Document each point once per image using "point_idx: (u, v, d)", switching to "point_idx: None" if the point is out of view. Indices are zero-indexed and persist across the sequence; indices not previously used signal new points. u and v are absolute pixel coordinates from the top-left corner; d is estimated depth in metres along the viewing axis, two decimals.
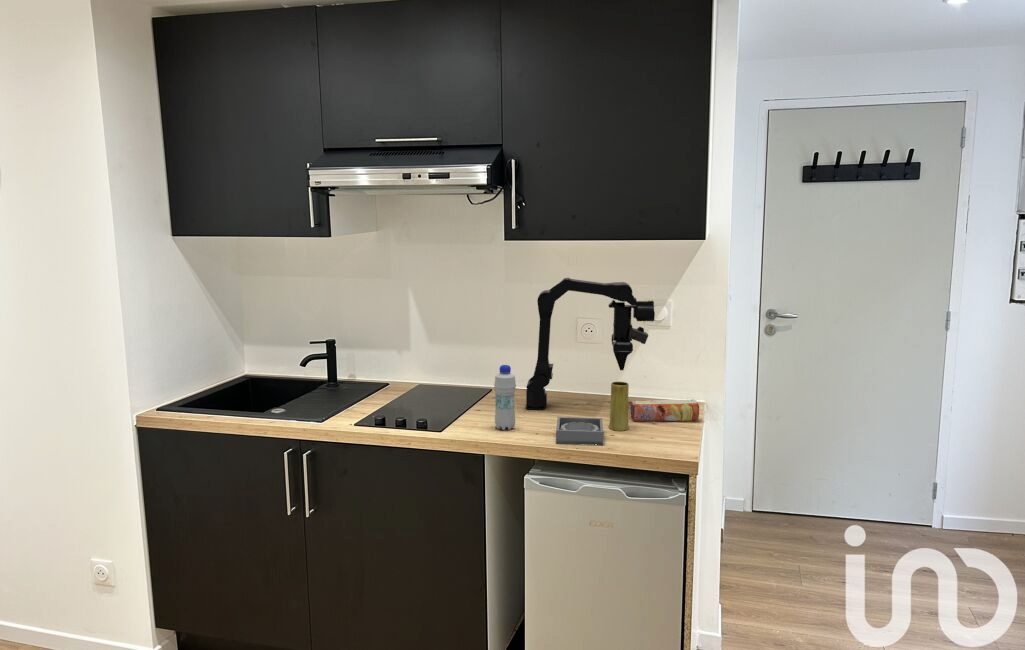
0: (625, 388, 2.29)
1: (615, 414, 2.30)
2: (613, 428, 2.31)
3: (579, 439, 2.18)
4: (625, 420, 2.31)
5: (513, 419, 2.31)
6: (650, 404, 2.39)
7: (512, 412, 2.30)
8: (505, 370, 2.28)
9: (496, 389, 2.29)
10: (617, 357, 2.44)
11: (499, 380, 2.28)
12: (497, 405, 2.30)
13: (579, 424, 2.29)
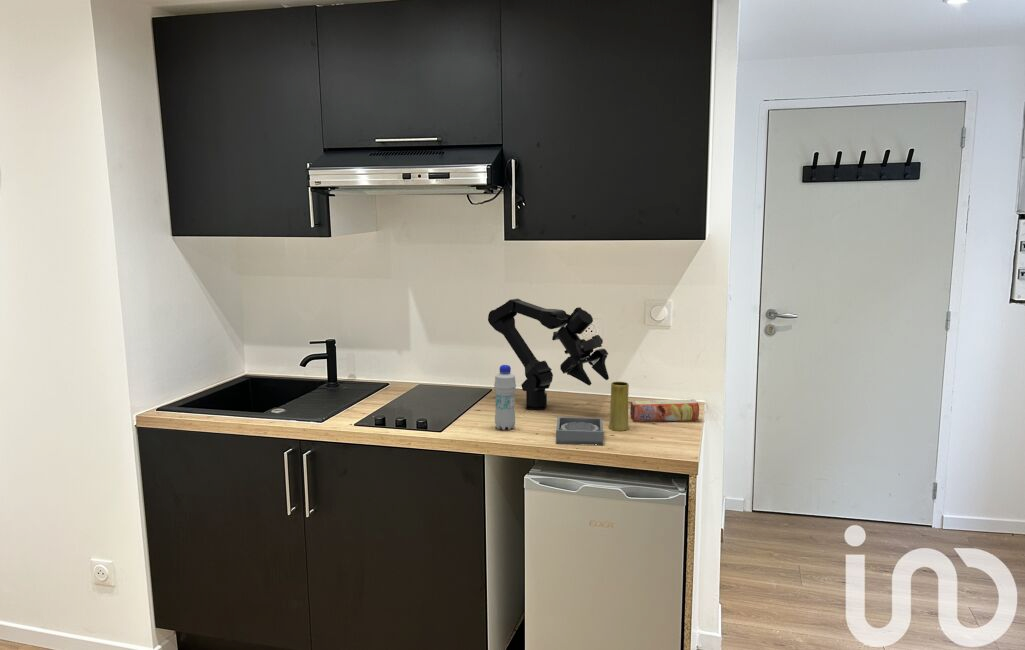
0: (625, 388, 2.29)
1: (615, 414, 2.30)
2: (613, 428, 2.31)
3: (579, 439, 2.18)
4: (625, 420, 2.31)
5: (513, 419, 2.31)
6: (650, 404, 2.39)
7: (512, 412, 2.30)
8: (505, 370, 2.28)
9: (496, 389, 2.29)
10: (576, 376, 2.34)
11: (499, 380, 2.28)
12: (497, 405, 2.30)
13: (579, 424, 2.29)
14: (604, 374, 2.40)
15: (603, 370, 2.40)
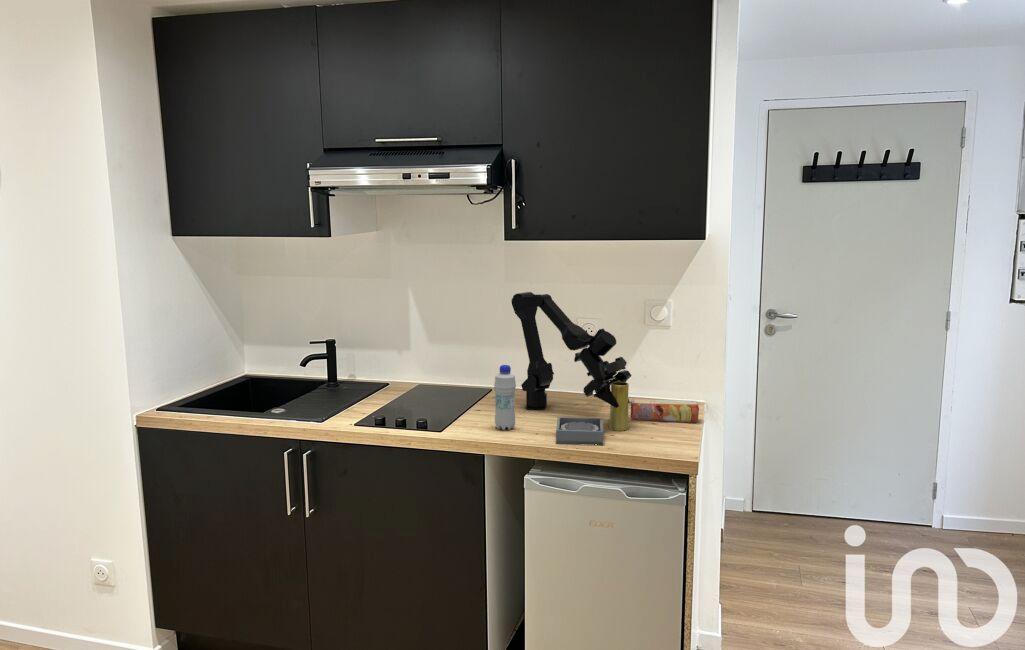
0: (625, 388, 2.29)
1: (615, 414, 2.30)
2: (613, 428, 2.31)
3: (579, 439, 2.18)
4: (625, 420, 2.31)
5: (513, 419, 2.31)
6: (649, 403, 2.40)
7: (512, 412, 2.30)
8: (505, 370, 2.28)
9: (496, 389, 2.29)
10: (603, 398, 2.30)
11: (499, 380, 2.28)
12: (497, 405, 2.30)
13: (579, 424, 2.29)
14: None
15: None
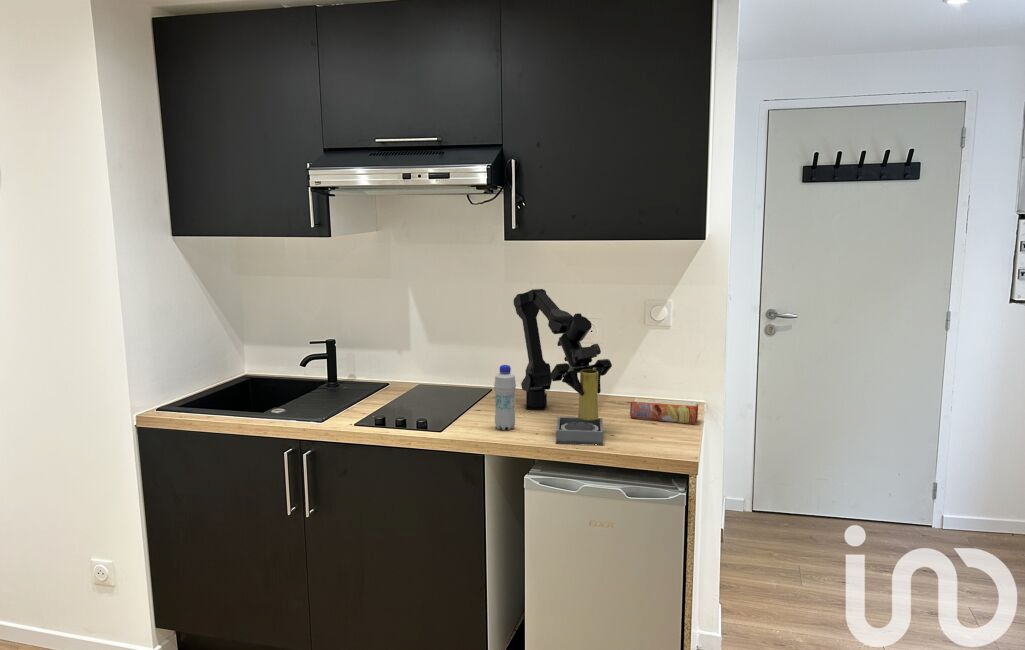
0: (591, 376, 2.20)
1: (581, 402, 2.22)
2: (579, 416, 2.23)
3: (579, 439, 2.18)
4: (592, 409, 2.22)
5: (513, 419, 2.31)
6: (647, 403, 2.41)
7: (512, 412, 2.30)
8: (505, 370, 2.28)
9: (496, 389, 2.29)
10: (571, 385, 2.24)
11: (499, 380, 2.28)
12: (497, 405, 2.30)
13: (579, 424, 2.29)
14: None
15: None
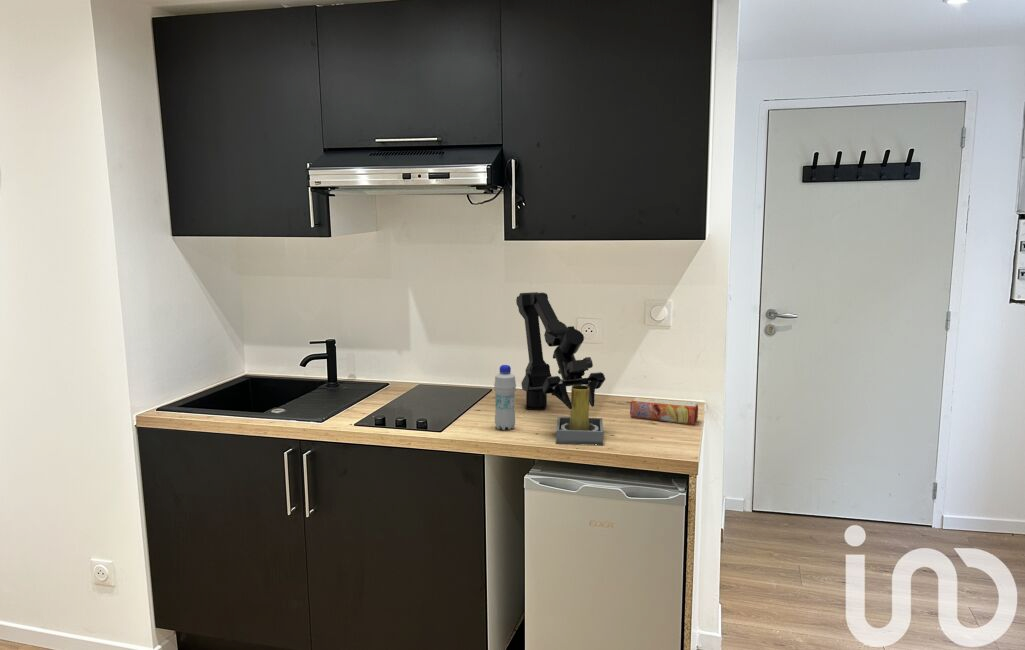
0: (581, 392, 2.20)
1: (572, 418, 2.22)
2: None
3: (579, 439, 2.18)
4: (582, 426, 2.21)
5: (513, 419, 2.31)
6: (647, 402, 2.42)
7: (512, 412, 2.30)
8: (505, 370, 2.28)
9: (496, 389, 2.29)
10: (560, 398, 2.24)
11: (499, 380, 2.28)
12: (497, 405, 2.30)
13: None
14: (591, 400, 2.24)
15: (590, 396, 2.24)
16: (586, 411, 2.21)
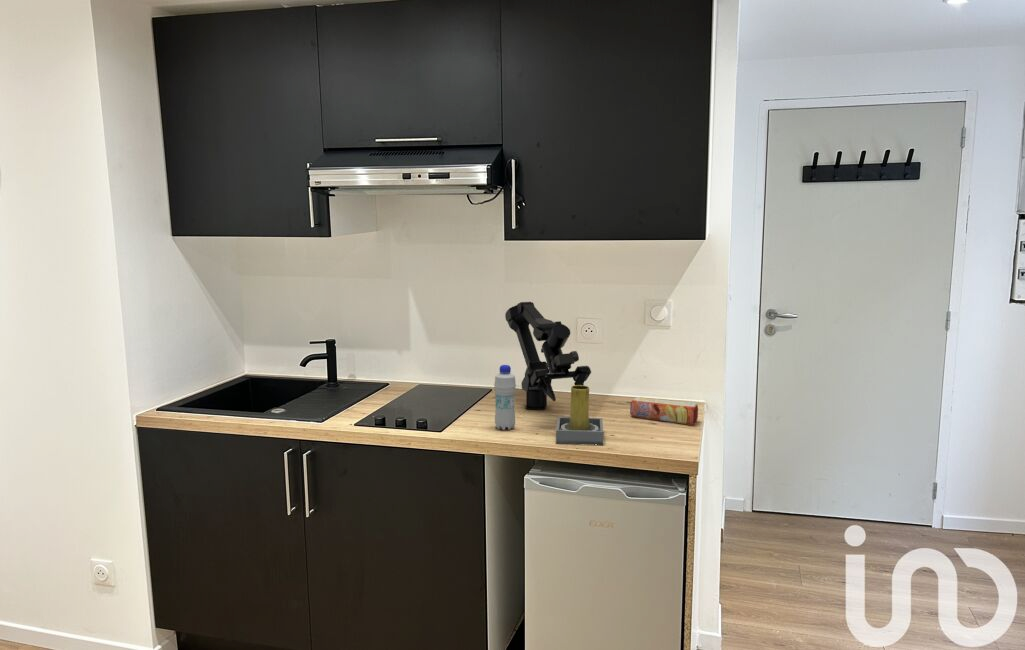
0: (581, 392, 2.20)
1: (572, 418, 2.22)
2: None
3: (579, 439, 2.18)
4: (582, 426, 2.21)
5: (513, 419, 2.31)
6: (647, 402, 2.42)
7: (512, 412, 2.30)
8: (505, 370, 2.28)
9: (496, 389, 2.29)
10: (544, 390, 2.32)
11: (499, 380, 2.28)
12: (497, 405, 2.30)
13: None
14: None
15: None
16: (586, 411, 2.21)
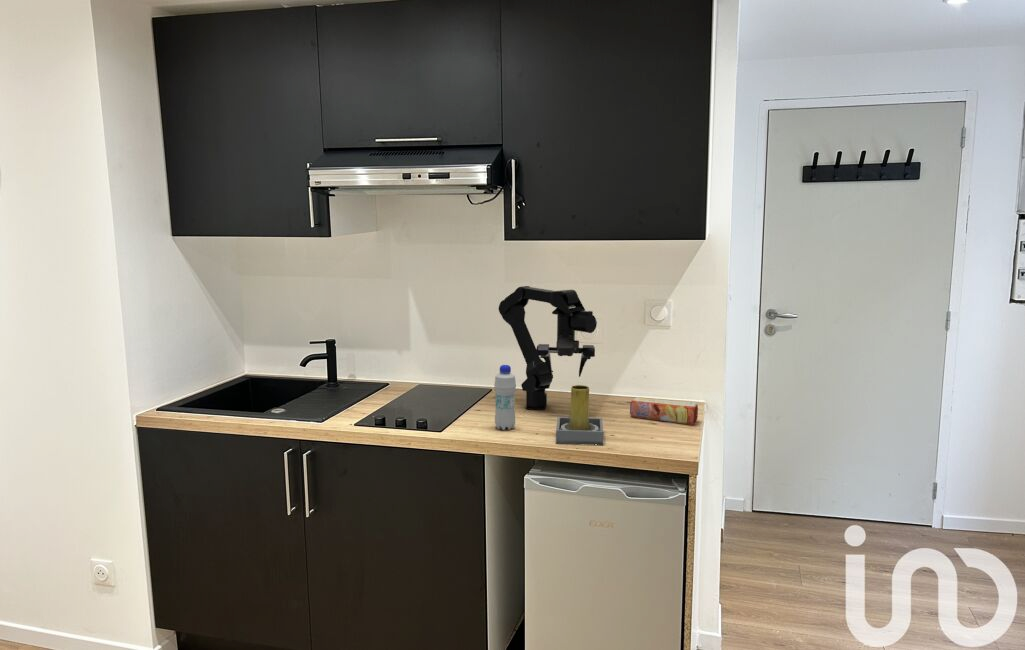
0: (581, 392, 2.20)
1: (572, 418, 2.22)
2: None
3: (579, 439, 2.18)
4: (582, 426, 2.21)
5: (513, 419, 2.31)
6: (647, 402, 2.42)
7: (512, 412, 2.30)
8: (505, 370, 2.28)
9: (496, 389, 2.29)
10: None
11: (499, 380, 2.28)
12: (497, 405, 2.30)
13: None
14: (579, 371, 2.44)
15: None
16: (586, 411, 2.21)
